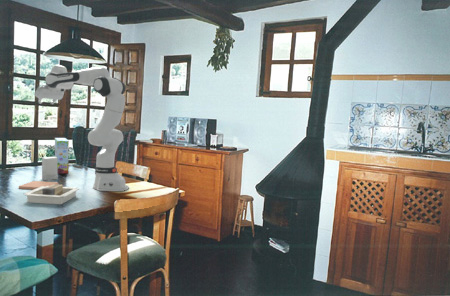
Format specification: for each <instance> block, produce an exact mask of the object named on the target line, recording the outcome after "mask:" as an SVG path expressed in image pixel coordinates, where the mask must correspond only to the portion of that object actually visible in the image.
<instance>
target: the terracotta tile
mask: <svg viewBox="0 0 450 296" xmlns="http://www.w3.org/2000/svg"><path fill="white" fill-rule="evenodd" d="M53 184H59V182H57V181H44V180H43V181H40V180H39V181H38V180H33V181H30V182H26V183H24V184H22V185H19V186H18V189H19V190H30V191H31V190H34V189H36V188H39V187H41V186H44V187H45V186H51V185H53ZM59 185H60V184H59Z"/></svg>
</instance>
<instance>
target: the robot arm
mask: <svg viewBox="0 0 450 296" xmlns="http://www.w3.org/2000/svg"><path fill="white" fill-rule="evenodd" d="M110 75H111V74H110V72H109V70H108V69H107V68H105V67H102V66H101V67H100V66H99V67H90V68H86V69H80V70H76V71H69V72H68V70H67V67H66V66H64V65H61V64H54V65H53V66H52V68H51V70H50V72H49V73H47V74H46V76H45V77H44V80H45V81H44V82H45V84H41V85H39V86H37V88H36V90H35V92H34V94H33V95H34V96H35V98H37V99H38V102H37V103H38V104H40V105H41V104H43V99H45V100H46V99H47V100H51V101H50V102H49V103H50V105H54V104H55V103H56V102H57V100H60V101H61V100H62V99H63V98H64V94H65V92H66V90H71V89H73V87H74V85H75V84H78V85H79V84H80V85H84V86H92V87H93V89H94V91H95V92H96V93H97V94H99V95H100V96H101V97H103V98H104V97H105V98H106V103H105V107H104V111H103V114H102V116H101V118H100V120H99V122H98V124H97V125H96V126H95V127H94V128H93V129H91V130H89V132H88V133H87V134H88V135H87V140H88V143H89V144H90V145H92V146H97V147H101V149H100V151H98V153H97V154H96V158H95V159H96V165H95V170H94V175H95V177H94V181H93V182H94V183H93V186H92V188H93V189H94V190H97V191H99V192H125V191H127V190H129V188H130V186H129V185H128V184H126V183H127V182H126V178H125V177H124V176H122V175H121V174H120V173H118V167H116V166H115V156H116V152H117V150H118V148H119V146H120V144H122V142H123V140H124V134H123V131H121V130H119V129H116V127H117V126H118V125H120V123H121V120H122V117H123V114H124V113H123V112H124V110H125V103H126V97H125V95H124V94H125V92H126V84H125V83H124V82H123V81H122V80H120V79H118V78H116V77H111V76H110ZM124 190H125V191H124Z"/></svg>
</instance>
